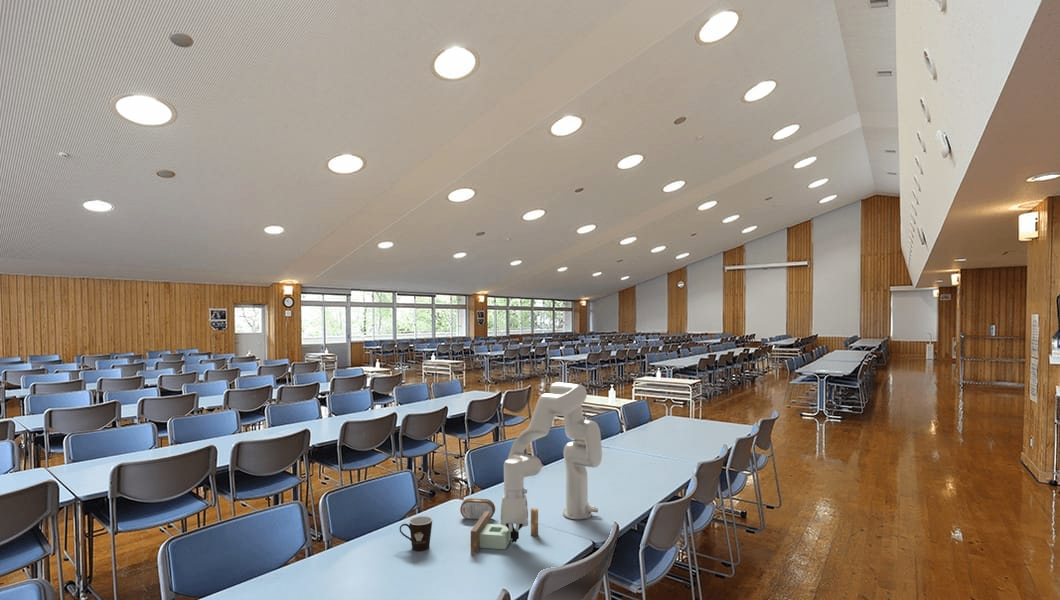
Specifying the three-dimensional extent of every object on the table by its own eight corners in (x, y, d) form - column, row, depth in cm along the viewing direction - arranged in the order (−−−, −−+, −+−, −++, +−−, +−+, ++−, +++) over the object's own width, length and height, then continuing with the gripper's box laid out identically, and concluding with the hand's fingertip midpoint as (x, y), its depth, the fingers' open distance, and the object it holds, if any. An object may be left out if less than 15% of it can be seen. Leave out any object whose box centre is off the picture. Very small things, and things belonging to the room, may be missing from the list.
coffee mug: (436, 544, 194) (437, 518, 194) (423, 554, 186) (423, 526, 186) (412, 539, 198) (412, 513, 199) (397, 548, 191) (398, 521, 191)
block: (511, 538, 199) (511, 525, 199) (505, 549, 189) (505, 535, 189) (486, 536, 201) (486, 523, 201) (479, 547, 191) (479, 533, 191)
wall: (489, 531, 206) (489, 511, 206) (475, 553, 186) (475, 531, 186) (484, 531, 206) (484, 511, 206) (470, 553, 186) (470, 531, 187)
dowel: (538, 533, 204) (538, 508, 204) (537, 536, 201) (537, 510, 201) (531, 532, 204) (531, 507, 205) (530, 536, 201) (530, 510, 202)
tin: (495, 518, 220) (495, 498, 220) (494, 521, 217) (494, 501, 217) (461, 517, 221) (461, 497, 222) (459, 520, 218) (459, 500, 219)
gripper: (534, 489, 197) (535, 537, 196) (496, 488, 199) (497, 535, 199) (531, 496, 190) (532, 546, 189) (492, 495, 192) (493, 544, 191)
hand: (514, 540), depth 194 cm, fingers closed
